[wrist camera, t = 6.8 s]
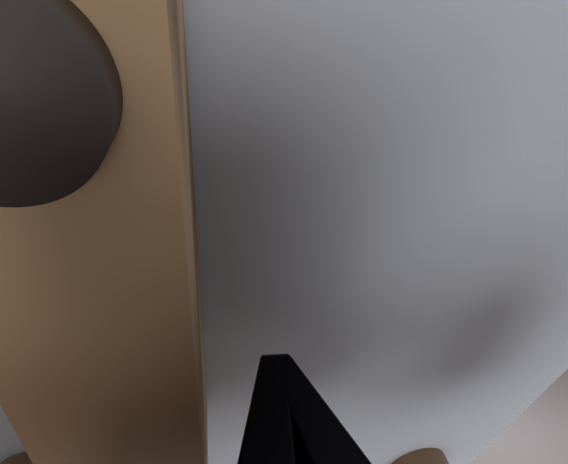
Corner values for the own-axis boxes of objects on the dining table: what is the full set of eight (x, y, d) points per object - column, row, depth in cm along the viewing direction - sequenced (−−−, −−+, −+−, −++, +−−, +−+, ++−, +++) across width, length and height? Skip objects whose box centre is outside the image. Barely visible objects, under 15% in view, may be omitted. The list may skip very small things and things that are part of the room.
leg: (-16, -82, 5) (-436, -192, 2) (179, -62, 5) (149, -115, 2) (121, 419, 11) (89, 607, 8) (206, 408, 11) (210, 582, 8)
